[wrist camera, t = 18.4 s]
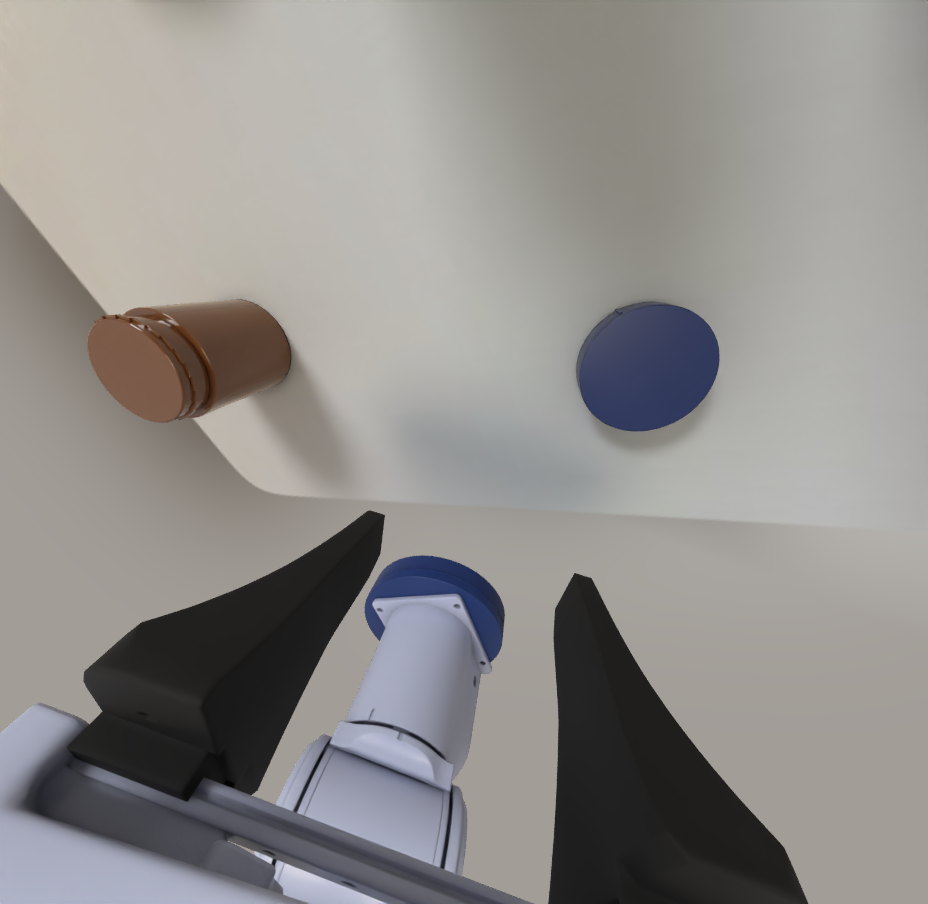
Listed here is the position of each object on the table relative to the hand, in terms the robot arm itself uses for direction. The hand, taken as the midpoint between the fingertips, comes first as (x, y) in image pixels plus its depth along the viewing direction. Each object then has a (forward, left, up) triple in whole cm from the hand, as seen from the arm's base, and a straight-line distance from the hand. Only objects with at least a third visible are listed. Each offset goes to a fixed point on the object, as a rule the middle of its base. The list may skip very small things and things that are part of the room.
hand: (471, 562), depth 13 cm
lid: (+3, -8, -8) cm, 12 cm away
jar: (+10, +13, -9) cm, 19 cm away
